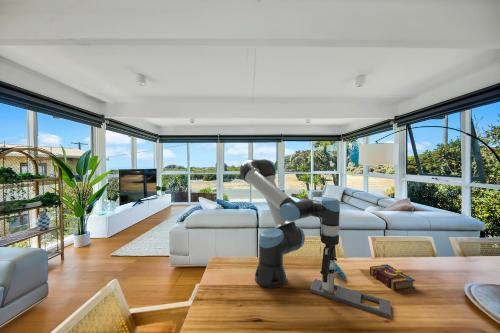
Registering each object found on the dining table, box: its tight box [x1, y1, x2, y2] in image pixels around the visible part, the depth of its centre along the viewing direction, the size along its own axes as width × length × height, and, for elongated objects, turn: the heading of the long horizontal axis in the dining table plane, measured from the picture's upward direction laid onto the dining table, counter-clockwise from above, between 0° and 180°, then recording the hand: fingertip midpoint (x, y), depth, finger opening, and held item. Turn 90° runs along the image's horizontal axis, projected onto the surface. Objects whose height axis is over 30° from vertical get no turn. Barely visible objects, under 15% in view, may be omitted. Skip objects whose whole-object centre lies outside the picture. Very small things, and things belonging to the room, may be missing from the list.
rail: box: [309, 278, 392, 319], centre depth 90 cm, size 30×9×2 cm, turn 59°
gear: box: [335, 262, 347, 279], centre depth 108 cm, size 11×6×10 cm
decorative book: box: [369, 263, 416, 292], centre depth 104 cm, size 11×16×5 cm
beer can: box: [323, 263, 336, 293], centre depth 94 cm, size 5×5×12 cm
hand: (328, 281), depth 94 cm, fingers open, 13 cm apart
